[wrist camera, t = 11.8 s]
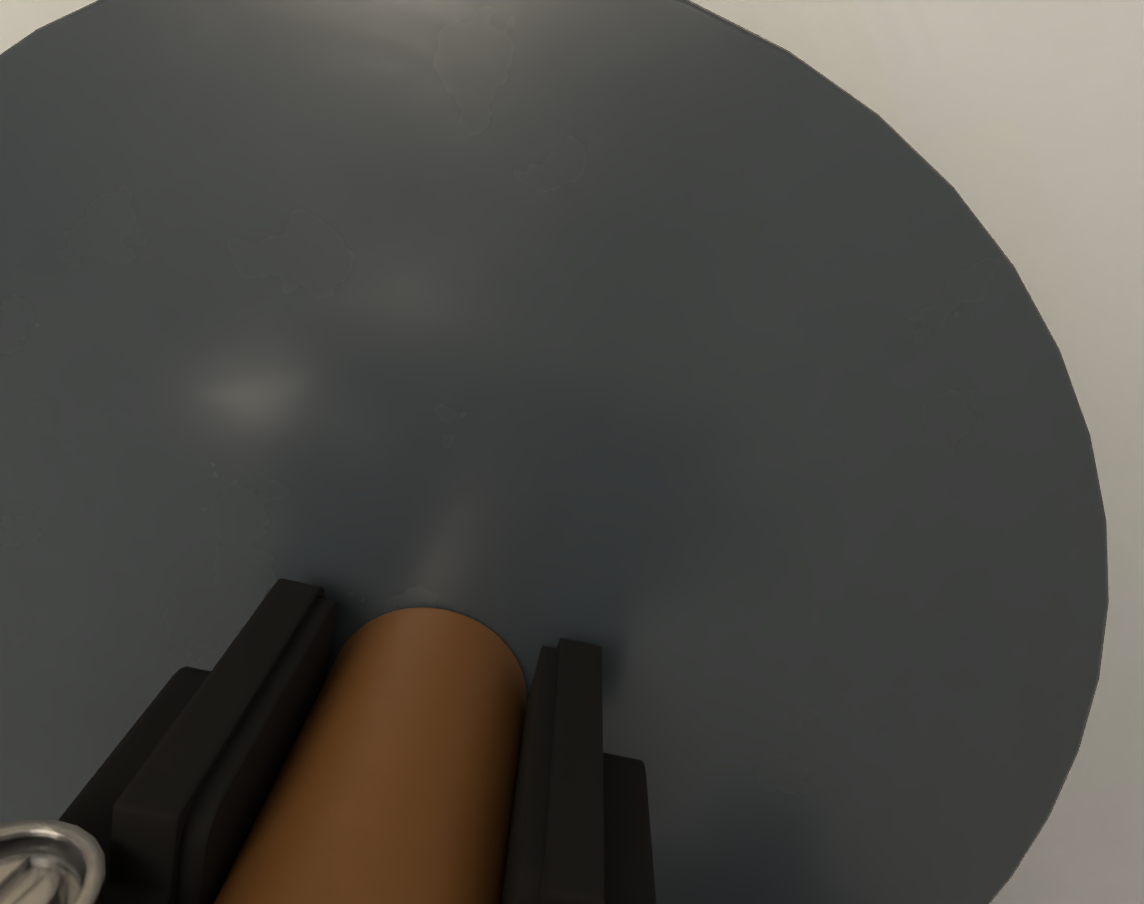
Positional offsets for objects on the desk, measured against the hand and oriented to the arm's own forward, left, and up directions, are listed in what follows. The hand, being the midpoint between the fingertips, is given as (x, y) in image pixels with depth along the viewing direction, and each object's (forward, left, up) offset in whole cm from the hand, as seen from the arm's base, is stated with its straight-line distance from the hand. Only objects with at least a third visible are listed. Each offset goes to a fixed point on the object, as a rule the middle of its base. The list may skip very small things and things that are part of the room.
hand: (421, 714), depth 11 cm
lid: (0, 0, -1) cm, 1 cm away
